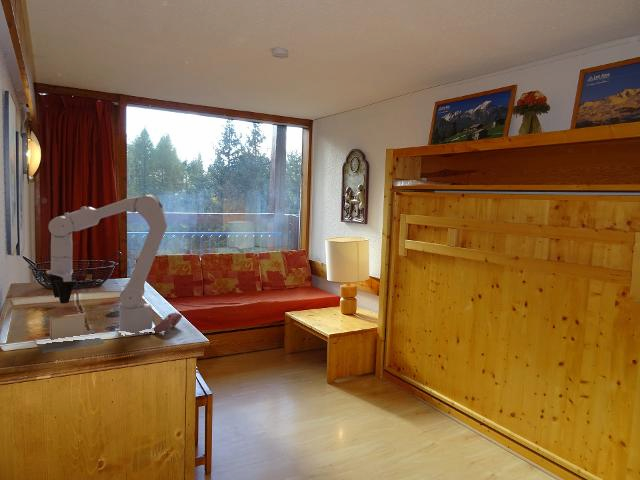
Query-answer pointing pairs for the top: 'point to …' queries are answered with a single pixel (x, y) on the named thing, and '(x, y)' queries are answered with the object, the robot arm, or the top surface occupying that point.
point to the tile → (67, 326)
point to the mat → (68, 344)
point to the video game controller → (168, 323)
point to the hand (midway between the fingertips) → (61, 300)
